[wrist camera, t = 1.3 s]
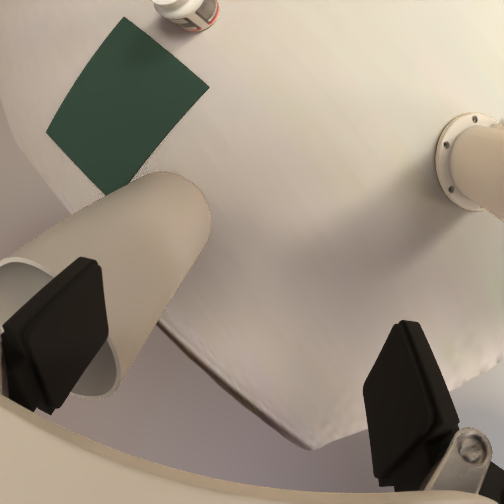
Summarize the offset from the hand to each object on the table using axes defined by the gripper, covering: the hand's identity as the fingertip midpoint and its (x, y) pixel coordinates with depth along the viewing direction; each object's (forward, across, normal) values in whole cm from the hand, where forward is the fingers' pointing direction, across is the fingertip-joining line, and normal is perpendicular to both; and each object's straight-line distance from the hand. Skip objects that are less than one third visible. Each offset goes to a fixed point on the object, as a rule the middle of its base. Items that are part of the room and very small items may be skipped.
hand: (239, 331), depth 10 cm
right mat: (+30, +22, -4) cm, 37 cm away
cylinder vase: (+30, +13, +9) cm, 34 cm away
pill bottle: (+30, +12, -18) cm, 37 cm away
